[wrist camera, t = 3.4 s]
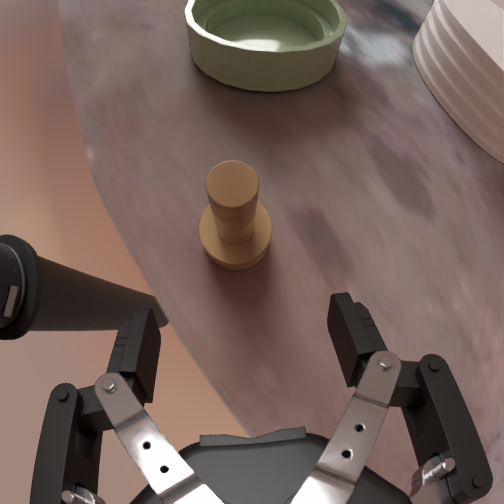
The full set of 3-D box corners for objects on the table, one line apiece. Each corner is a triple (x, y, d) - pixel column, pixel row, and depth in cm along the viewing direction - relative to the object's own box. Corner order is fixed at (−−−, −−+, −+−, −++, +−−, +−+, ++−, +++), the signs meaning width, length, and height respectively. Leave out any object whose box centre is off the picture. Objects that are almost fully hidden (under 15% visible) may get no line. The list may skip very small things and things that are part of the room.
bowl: (204, 108, 30) (198, 65, 23) (183, 21, 33) (177, -15, 27) (357, 87, 31) (374, 49, 25) (304, 7, 35) (310, -26, 28)
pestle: (211, 277, 26) (190, 246, 15) (197, 215, 27) (171, 151, 16) (276, 260, 27) (299, 219, 16) (259, 200, 28) (268, 129, 17)
